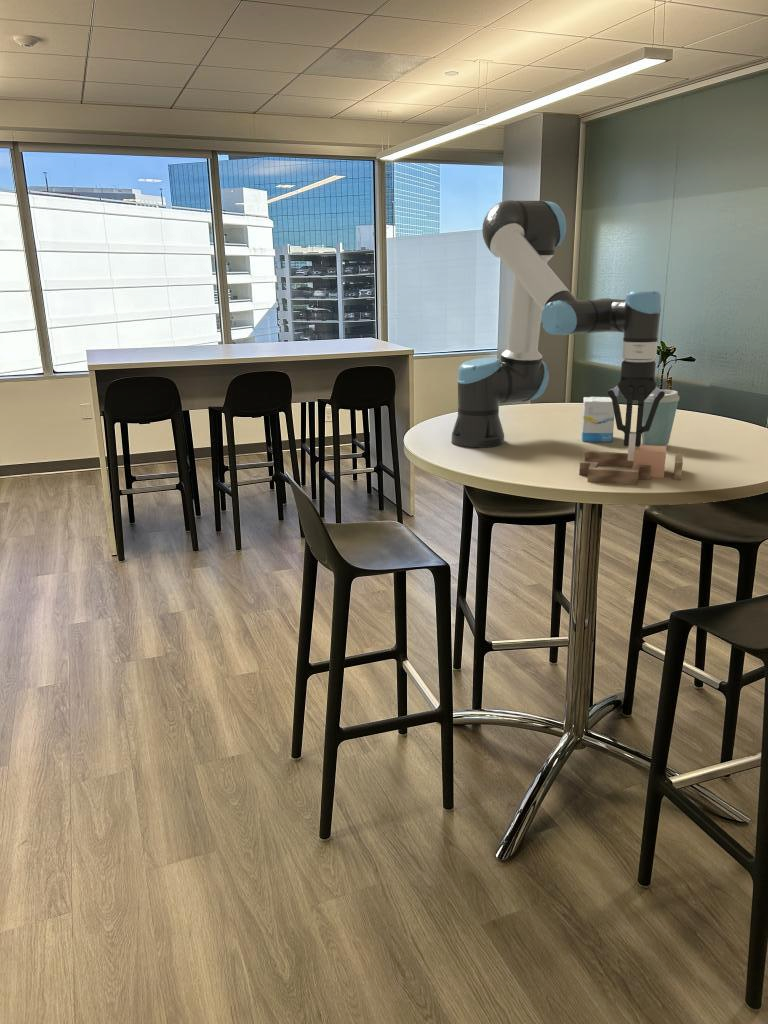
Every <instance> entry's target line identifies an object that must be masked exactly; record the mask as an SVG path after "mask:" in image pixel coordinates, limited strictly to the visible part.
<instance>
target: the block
mask: <svg viewBox="0 0 768 1024" xmlns="http://www.w3.org/2000/svg"><path fill="white" fill-rule="evenodd" d="M667 447H668V445H667V446H651V445H643V444H640V446H639V447H635V450H634V461H633V464H634V465H650V466H651V473H650V478H663V479H664V477H665V468H666V467H665V466H666V465H665V464H666V457H667V456H666V454H667Z"/></svg>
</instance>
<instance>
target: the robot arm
mask: <svg viewBox="0 0 768 1024" xmlns="http://www.w3.org/2000/svg"><path fill="white" fill-rule="evenodd" d="M481 232H482V239H483V242H484V244H485V245H486V248H487V249H488V250H489V251H490V253H491V254H492V255H493V256H494V257H496V258H499V259H501V260H502V261H503V263H504V264H505V265H506V267H507V268H508V269H509V270H510V271H511V273H512V274H513V282H512V283H513V284H512V293H511V294H512V295H511V302H510V303H511V305H510V314H509V315H510V316H509V324H508V335H507V336H508V337H507V347H506V349H505V350H504V351H503V352H501V355H500V359H499V358H496V357H483V358H475V359H471V360H466V361H464V362H463V363H461V364H460V365H459V367H458V372H457V417H456V420H455V423H454V426H453V430H452V432H451V443H452V444H453V445H456V446H461V447H466V448H467V447H468V448H490V447H496V446H500V445H501V446H502V444H504V443H505V432H504V428H503V425H502V422H501V419H500V415H499V414H500V404H508V403H509V404H510V403H519V402H520V403H521V402H522V403H524V402H528V401H532V400H533V401H534V400H536V399H539V398H540V397H541V396H542V395H543V394H544V393H545V390H546V389H547V386H548V384H549V377H550V375H549V370H548V366H547V364H546V363H545V361H543V355H542V354H541V352H539V348H538V347H539V340H540V333H541V332H540V331H541V324H542V328H543V330H544V331H545V332H546V333H547V334H549V335H553V336H554V335H558V336H567V335H568V336H569V335H578V334H579V335H580V334H591V333H606V332H607V333H611V332H612V333H623V338H622V339H623V340H622V354H621V358H622V359H624V360H623V361H621V366H620V367H621V368H620V379H619V381H618V383H617V385H616V386H615V387H613V388H610V389H608V390H607V394H608V397H610V398H611V399H612V403H613V409H614V421H615V424H616V429H617V430H618V431H621V432H623V435H624V437H623V446H624V447H628V448H627V449H628V450H627V453H628V460H627V461H634V450H635V447H639V446H640V445H642V433H643V432H646V431H649V430H650V427H651V424H652V421H653V418H654V416H655V413H656V410H657V407H658V404H659V401H660V400H661V399H662V398H663V397H664V395H665V391H664V390H665V389H660V388H659V387H658V386H657V382H656V380H655V376H656V364H657V363H656V361H655V360H656V358H657V354H658V340H659V329H660V328H659V327H660V317H661V312H662V308H661V307H662V306H661V303H662V302H661V301H662V299H661V297H662V295H661V293H660V291H658V290H630V291H628V292H627V293H626V297H625V299H619V298H618V299H617V298H598V299H584V300H582V299H579V300H578V298H576V297H575V296H574V295H573V294H572V293H571V291H570V290H569V289H568V288H567V286H566V285H565V284H564V283H563V281H562V280H561V279H560V278H559V277H558V276H557V274H556V273H555V272H554V271H553V270H552V269H551V266H549V264H548V262H549V261H550V260H551V259H552V258H553V257H555V248H557V247H559V246H561V244H562V243H563V241H564V240H565V238H566V237H565V236H566V234H567V222H566V216H565V213H564V212H563V211H562V208H561V207H560V206H559V205H558V204H557V203H555V202H553V201H546V200H514V199H511V200H509V199H506V200H502V201H500V202H498V203H496V204H495V205H493V206H492V207H491V208H490V209H489V210H488V211H487V213H486V215H485V217H484V219H483V222H482V231H481ZM619 391H620V392H621V394H622V396H623V397H624V398H625V400H626V409H625V423H624V424H623V419H622V412H621V407H620V401H619V395H620V392H619ZM653 391H654V397H655V399H654V401H653V404H652V407H651V410H650V413H649V416H648V419H647V422H646V425H645V426H642V422H643V410H644V400H645V399H646V398H647V397H648V396H649V395H650V394H651V393H652V392H653ZM634 401H638V402H637V413H636V414H637V416H636V430H635V431H631V429H632V428H631V427H632V416H633V402H634Z"/></svg>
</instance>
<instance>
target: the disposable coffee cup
mask: <svg viewBox="0 0 768 1024" xmlns="http://www.w3.org/2000/svg"><path fill="white" fill-rule="evenodd" d="M663 390H664V391H665V395H664V397H663V398H662V399H661V400H660V401H659V404H658V407H657V410H656V413H655V416H654V418H653V421H652V424H651V427H650V430H649V431H646V432H643V433H642V434H641V444H642V445H651V446H667V447H668V444H669V443H670V439H671V435H672V430H673V425H674V421H675V417H676V413H677V409H678V403H679V401H680V395H679V393H678V392H679V391H677V390H672V389H663ZM654 399H655V397H654V391H653V392H652V393H651V394H650V395H649V396H648V397H647V398H646V399H645V400H644V410H643V422H642V426H645V425H646V422H647V419H648V416H649V413H650V410H651V407H652V404H653V401H654Z"/></svg>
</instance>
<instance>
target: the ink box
mask: <svg viewBox="0 0 768 1024" xmlns="http://www.w3.org/2000/svg"><path fill="white" fill-rule="evenodd" d="M614 425H615V414H614V409H613V403H612V399H611V398H610V396H584V397H583V401H582V415H581V430H580V431H581V432H580V436H581V440H582V442H593V443H595V442H597V443H598V442H600V443H601V442H602V443H613V439H614Z"/></svg>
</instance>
